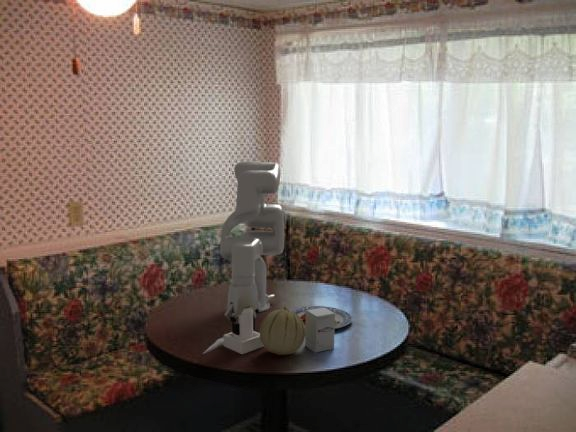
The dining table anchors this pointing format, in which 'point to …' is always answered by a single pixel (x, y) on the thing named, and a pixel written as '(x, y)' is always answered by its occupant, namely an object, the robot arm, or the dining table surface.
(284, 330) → the cantaloupe
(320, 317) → the supplement box
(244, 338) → the can
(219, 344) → the white long tapered piece
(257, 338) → the can holder
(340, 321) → the ceramic plate
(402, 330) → the dining table surface
